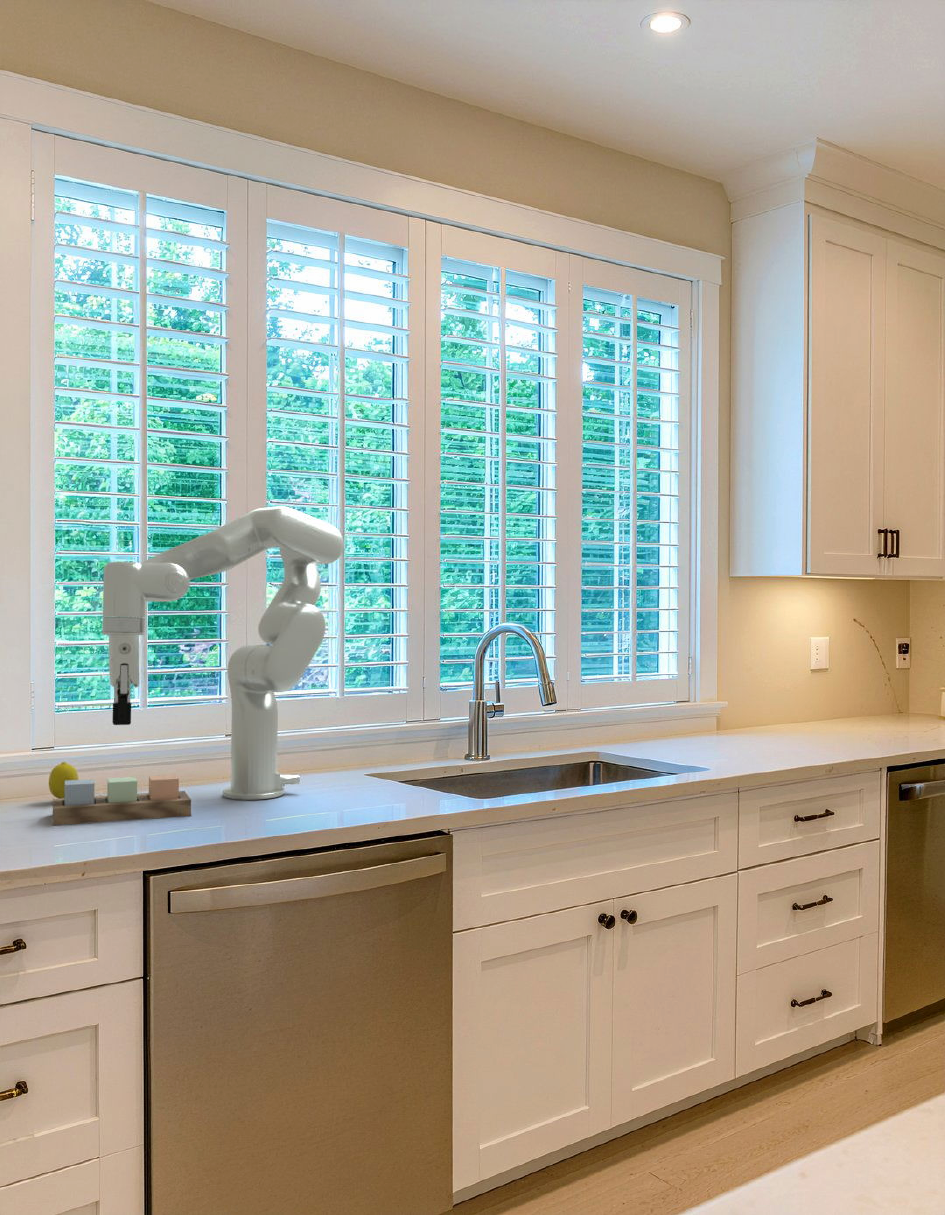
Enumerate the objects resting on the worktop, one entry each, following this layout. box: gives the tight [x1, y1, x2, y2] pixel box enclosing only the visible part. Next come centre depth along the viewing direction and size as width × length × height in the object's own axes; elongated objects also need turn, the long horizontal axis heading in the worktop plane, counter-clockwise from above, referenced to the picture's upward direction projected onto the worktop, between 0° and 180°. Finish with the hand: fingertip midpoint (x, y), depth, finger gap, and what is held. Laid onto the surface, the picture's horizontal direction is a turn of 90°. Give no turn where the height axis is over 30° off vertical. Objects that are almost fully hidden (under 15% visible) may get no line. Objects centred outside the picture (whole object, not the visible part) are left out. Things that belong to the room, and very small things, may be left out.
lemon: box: [48, 761, 79, 799], centre depth 198 cm, size 6×6×8 cm
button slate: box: [65, 778, 95, 806], centre depth 183 cm, size 5×5×5 cm
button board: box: [52, 790, 192, 826], centre depth 186 cm, size 24×10×3 cm, turn 113°
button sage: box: [106, 776, 138, 803], centre depth 186 cm, size 5×5×5 cm
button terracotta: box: [148, 774, 180, 800], centre depth 189 cm, size 5×5×5 cm
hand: (121, 724), depth 186 cm, fingers closed
